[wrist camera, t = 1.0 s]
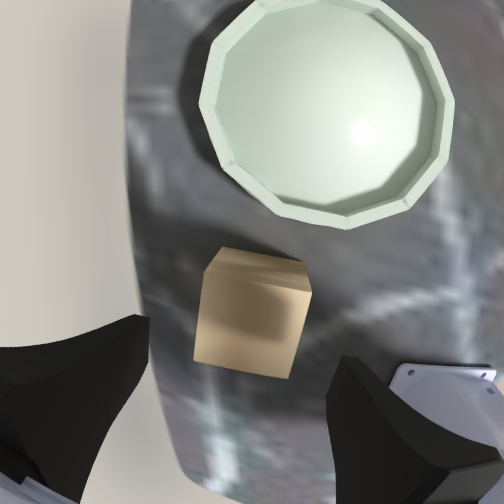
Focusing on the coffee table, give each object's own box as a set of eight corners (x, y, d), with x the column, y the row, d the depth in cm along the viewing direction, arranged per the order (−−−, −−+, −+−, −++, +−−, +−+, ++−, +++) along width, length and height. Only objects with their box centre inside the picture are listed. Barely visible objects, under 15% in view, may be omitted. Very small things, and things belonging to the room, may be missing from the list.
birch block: (304, 261, 17) (312, 292, 13) (286, 333, 18) (287, 379, 14) (222, 246, 17) (204, 271, 13) (211, 319, 19) (193, 360, 14)
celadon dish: (445, 39, 13) (459, 30, 11) (417, 245, 16) (430, 253, 15) (232, -13, 13) (227, -29, 12) (187, 198, 17) (177, 201, 15)
